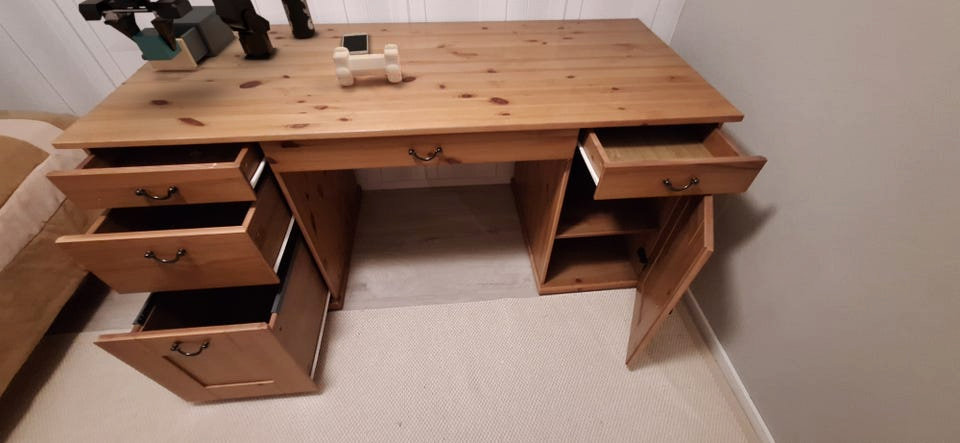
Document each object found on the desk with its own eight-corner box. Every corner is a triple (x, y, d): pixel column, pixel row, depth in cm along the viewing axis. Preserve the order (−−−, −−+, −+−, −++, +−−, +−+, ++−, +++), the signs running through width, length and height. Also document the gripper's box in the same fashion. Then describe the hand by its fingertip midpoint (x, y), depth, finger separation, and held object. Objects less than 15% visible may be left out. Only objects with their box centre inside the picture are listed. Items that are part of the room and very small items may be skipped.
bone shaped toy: (402, 71, 98) (397, 39, 92) (402, 87, 92) (397, 53, 86) (342, 75, 96) (333, 42, 90) (339, 91, 90) (329, 57, 84)
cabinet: (215, 56, 103) (198, 22, 97) (171, 56, 103) (152, 23, 97) (235, 37, 113) (221, 5, 107) (195, 37, 112) (179, 5, 106)
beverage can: (309, 40, 112) (295, -6, 103) (289, 38, 113) (273, -8, 104) (320, 32, 116) (307, -13, 107) (300, 30, 117) (286, -14, 108)
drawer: (187, 75, 94) (171, 47, 89) (144, 75, 93) (125, 47, 88) (216, 48, 105) (203, 21, 100) (178, 48, 105) (163, 22, 100)
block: (182, 50, 85) (169, 27, 81) (171, 60, 81) (156, 36, 78) (159, 51, 85) (145, 27, 81) (147, 60, 81) (131, 36, 78)
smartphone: (368, 35, 114) (367, 31, 114) (368, 55, 104) (367, 52, 103) (344, 36, 113) (343, 33, 113) (341, 58, 103) (341, 54, 102)
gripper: (183, -45, 77) (221, 35, 88) (88, -44, 76) (139, 37, 87) (154, -30, 69) (200, 55, 81) (48, -28, 68) (109, 58, 80)
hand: (162, 50), depth 82 cm, fingers closed on block, 5 cm apart
